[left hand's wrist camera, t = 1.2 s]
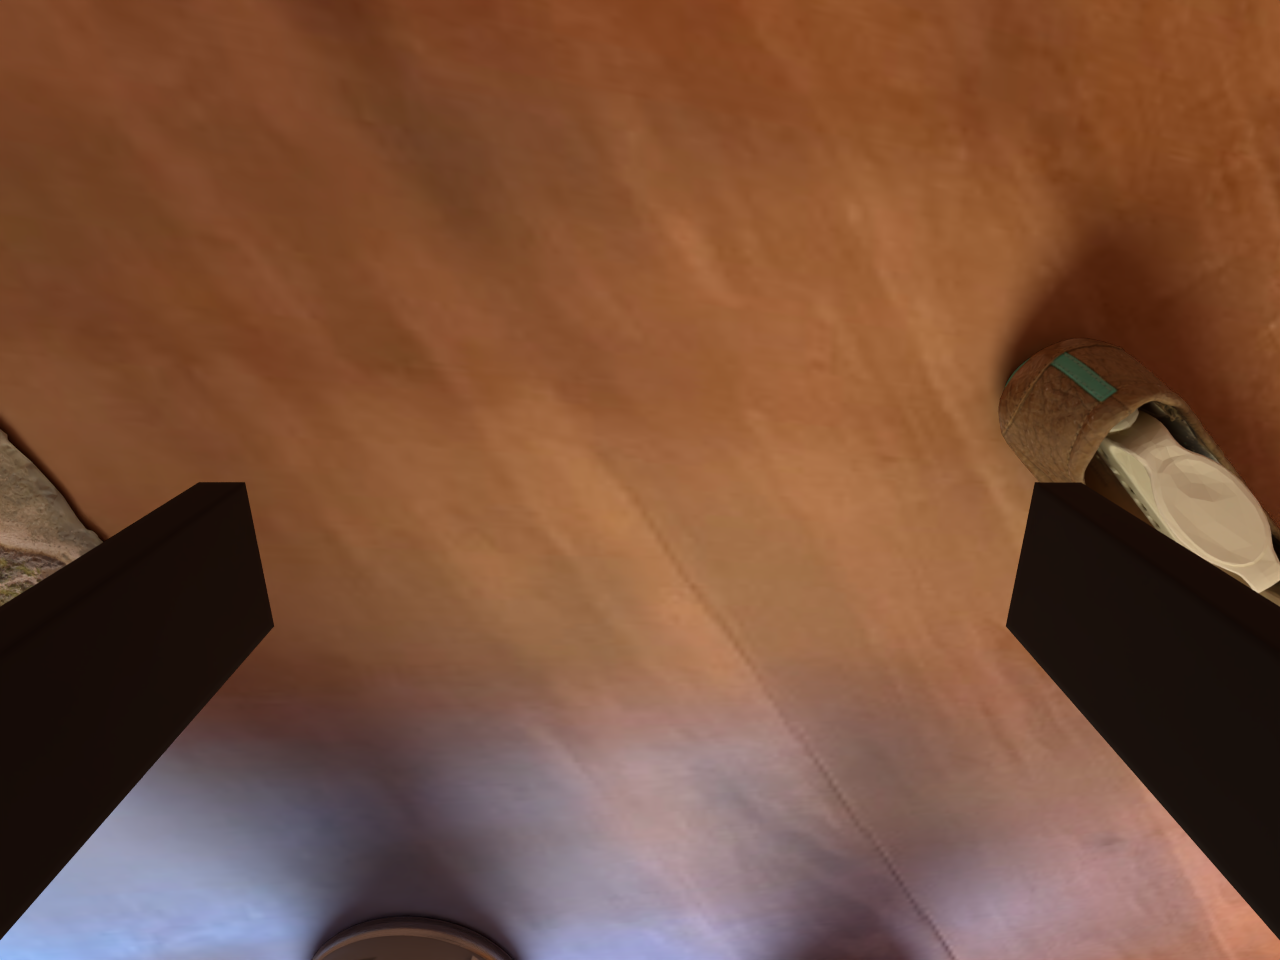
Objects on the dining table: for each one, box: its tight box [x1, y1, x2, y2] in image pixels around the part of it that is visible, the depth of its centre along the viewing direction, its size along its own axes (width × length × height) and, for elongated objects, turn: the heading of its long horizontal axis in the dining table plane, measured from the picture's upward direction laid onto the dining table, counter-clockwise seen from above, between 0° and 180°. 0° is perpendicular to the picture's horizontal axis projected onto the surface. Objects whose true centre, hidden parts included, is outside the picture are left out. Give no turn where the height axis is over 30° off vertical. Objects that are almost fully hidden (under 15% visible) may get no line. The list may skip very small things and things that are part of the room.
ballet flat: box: [999, 338, 1280, 606], centre depth 34 cm, size 8×24×9 cm, turn 41°
